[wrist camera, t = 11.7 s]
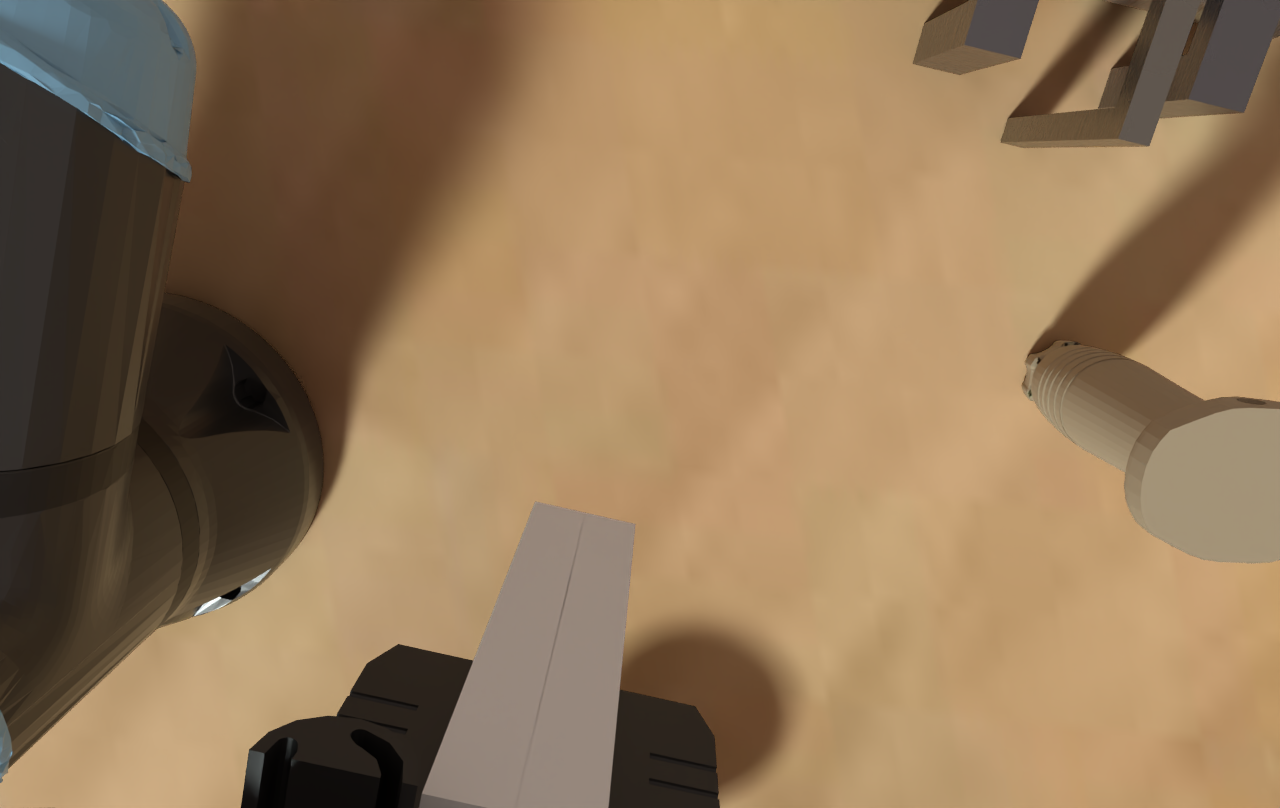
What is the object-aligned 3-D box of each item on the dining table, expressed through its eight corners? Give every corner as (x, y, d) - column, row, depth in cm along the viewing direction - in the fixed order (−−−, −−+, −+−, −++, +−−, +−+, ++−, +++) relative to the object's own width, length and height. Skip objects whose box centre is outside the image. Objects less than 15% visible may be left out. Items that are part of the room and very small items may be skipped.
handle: (989, 317, 42) (1156, 403, 28) (1136, 323, 42) (1380, 413, 28) (975, 422, 44) (1128, 557, 29) (1118, 429, 43) (1342, 567, 29)
